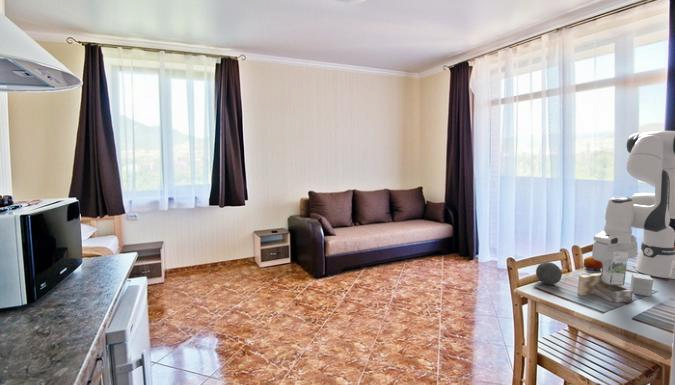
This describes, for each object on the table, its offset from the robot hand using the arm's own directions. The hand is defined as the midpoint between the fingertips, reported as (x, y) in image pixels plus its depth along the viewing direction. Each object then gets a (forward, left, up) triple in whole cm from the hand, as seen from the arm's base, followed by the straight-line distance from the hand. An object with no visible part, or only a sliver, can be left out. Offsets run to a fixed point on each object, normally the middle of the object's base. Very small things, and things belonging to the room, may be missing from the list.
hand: (613, 269), depth 142 cm
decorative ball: (+14, -18, -12) cm, 26 cm away
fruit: (-23, -26, -12) cm, 37 cm away
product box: (-16, +1, -12) cm, 20 cm away
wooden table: (0, -1, -12) cm, 12 cm away
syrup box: (0, 0, -6) cm, 6 cm away
